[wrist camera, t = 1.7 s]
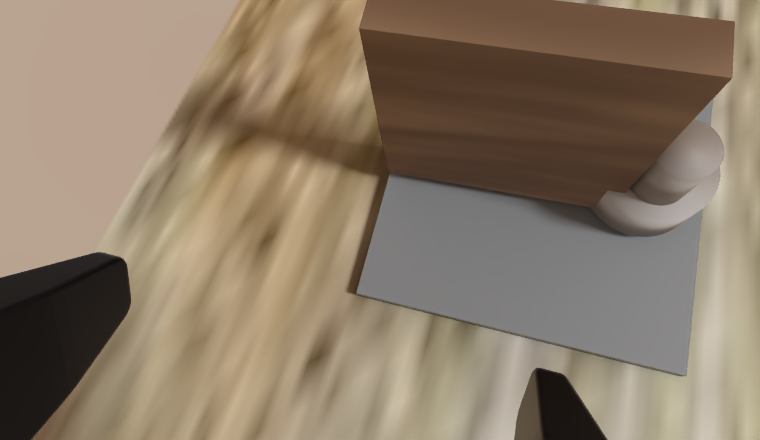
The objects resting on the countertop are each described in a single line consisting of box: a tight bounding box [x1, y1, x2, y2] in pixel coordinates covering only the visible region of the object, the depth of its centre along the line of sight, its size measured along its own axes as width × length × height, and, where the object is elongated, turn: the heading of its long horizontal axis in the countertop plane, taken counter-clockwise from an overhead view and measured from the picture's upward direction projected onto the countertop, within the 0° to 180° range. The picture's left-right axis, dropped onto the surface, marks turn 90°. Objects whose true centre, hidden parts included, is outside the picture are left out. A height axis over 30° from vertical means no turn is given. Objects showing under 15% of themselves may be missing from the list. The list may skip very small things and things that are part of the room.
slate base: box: [356, 99, 713, 376], centre depth 22 cm, size 14×12×1 cm
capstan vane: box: [359, 0, 735, 237], centre depth 17 cm, size 4×12×9 cm, turn 77°
